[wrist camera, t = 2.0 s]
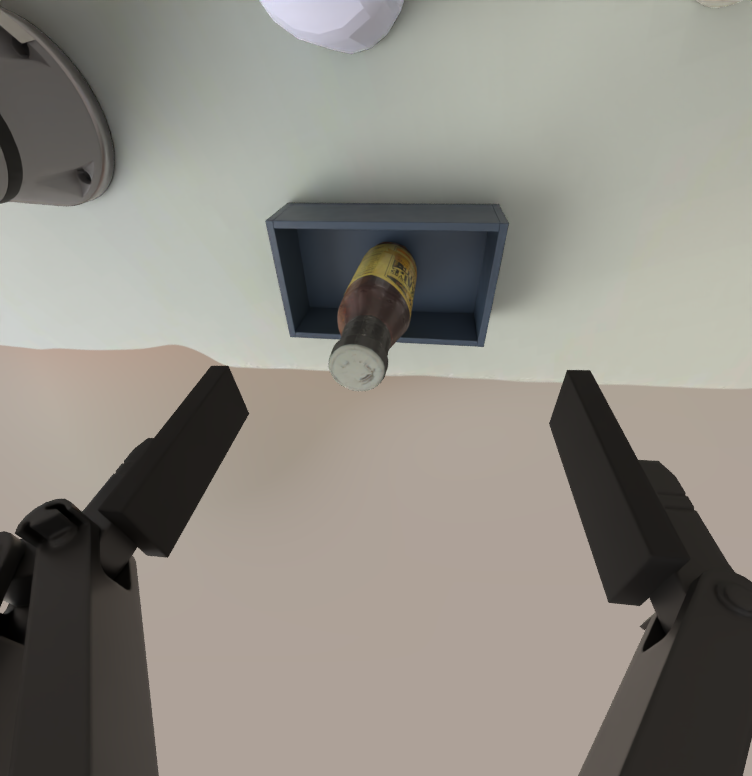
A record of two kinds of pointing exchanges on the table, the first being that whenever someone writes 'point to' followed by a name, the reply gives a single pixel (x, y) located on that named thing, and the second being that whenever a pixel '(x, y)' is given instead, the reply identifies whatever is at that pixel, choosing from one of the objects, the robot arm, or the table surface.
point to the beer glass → (717, 3)
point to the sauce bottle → (373, 316)
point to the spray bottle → (336, 21)
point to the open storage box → (401, 226)
